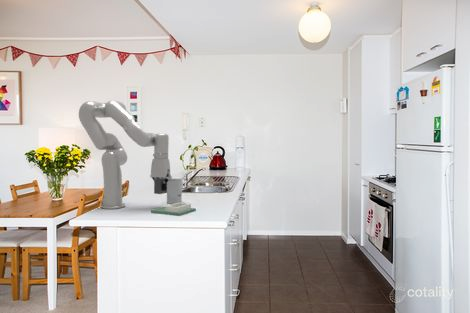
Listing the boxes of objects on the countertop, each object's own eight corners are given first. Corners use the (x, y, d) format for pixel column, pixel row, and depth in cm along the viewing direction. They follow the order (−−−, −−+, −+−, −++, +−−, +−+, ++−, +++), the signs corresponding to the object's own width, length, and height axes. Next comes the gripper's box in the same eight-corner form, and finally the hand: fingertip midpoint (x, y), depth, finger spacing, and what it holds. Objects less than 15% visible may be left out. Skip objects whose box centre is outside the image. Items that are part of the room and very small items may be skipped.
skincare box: (166, 204, 217) (166, 178, 216) (168, 202, 223) (167, 177, 222) (181, 203, 217) (180, 178, 216) (182, 201, 223) (182, 176, 222)
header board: (150, 212, 192) (150, 205, 192) (168, 207, 205) (167, 201, 204) (179, 215, 184) (179, 208, 184) (195, 210, 196) (195, 203, 196)
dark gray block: (154, 193, 203) (154, 178, 203) (161, 191, 209) (162, 177, 209) (160, 194, 201) (160, 179, 201) (167, 192, 207) (168, 178, 207)
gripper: (144, 155, 204) (144, 189, 205) (169, 157, 196) (168, 192, 198) (153, 155, 211) (153, 188, 212) (177, 157, 203) (177, 190, 204)
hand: (160, 189), depth 205 cm, fingers closed on dark gray block, 4 cm apart
